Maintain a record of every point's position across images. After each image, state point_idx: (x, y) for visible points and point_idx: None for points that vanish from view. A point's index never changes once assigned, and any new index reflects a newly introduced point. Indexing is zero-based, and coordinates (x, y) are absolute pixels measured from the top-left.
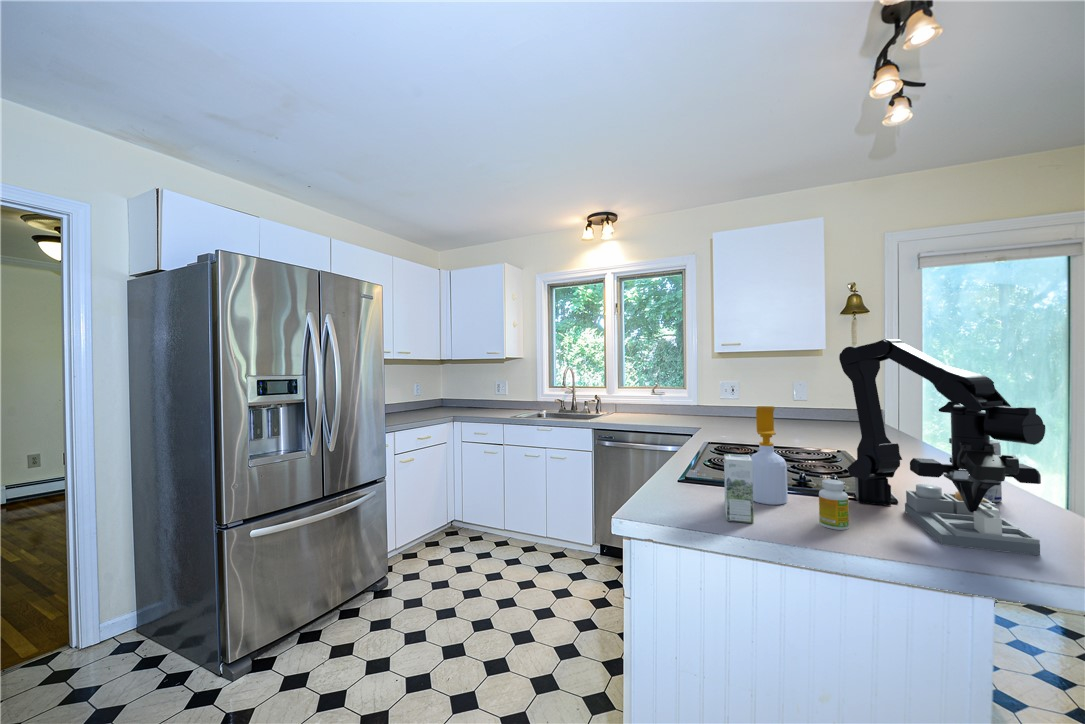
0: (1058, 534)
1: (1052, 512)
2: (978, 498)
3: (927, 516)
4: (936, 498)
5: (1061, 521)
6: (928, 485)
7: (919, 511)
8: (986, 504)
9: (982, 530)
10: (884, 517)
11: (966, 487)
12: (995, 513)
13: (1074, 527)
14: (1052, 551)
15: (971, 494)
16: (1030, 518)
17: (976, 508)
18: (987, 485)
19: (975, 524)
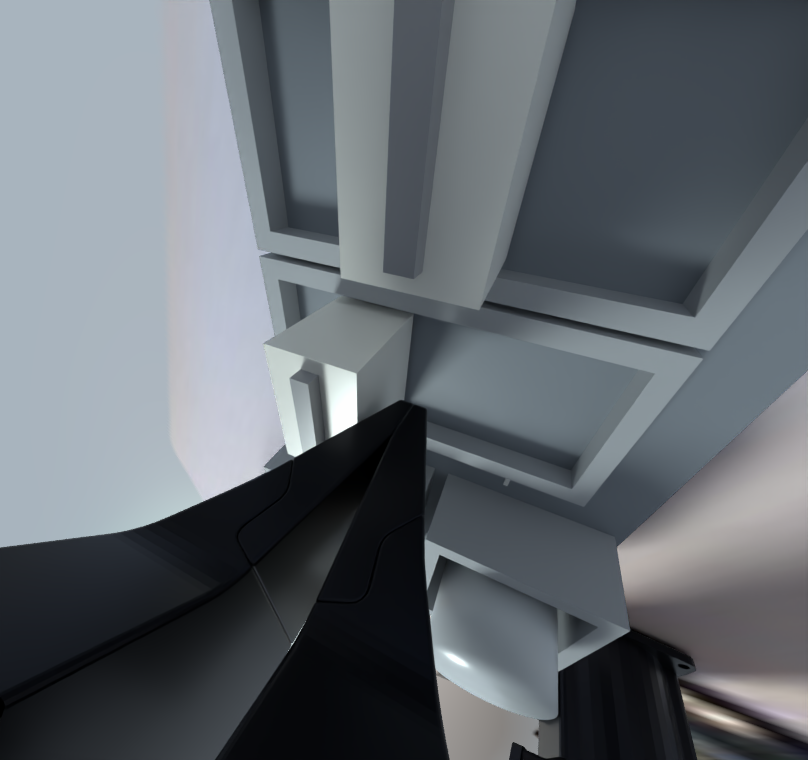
0: (199, 348)
1: (199, 470)
2: (324, 466)
3: (625, 481)
4: (488, 585)
5: (189, 429)
6: (466, 682)
7: (601, 534)
8: (302, 434)
9: (558, 61)
10: (772, 555)
11: (367, 670)
12: (303, 338)
13: (172, 396)
14: (230, 131)
15: (358, 526)
16: (235, 451)
17: (383, 414)
18: (16, 600)
19: (506, 244)
